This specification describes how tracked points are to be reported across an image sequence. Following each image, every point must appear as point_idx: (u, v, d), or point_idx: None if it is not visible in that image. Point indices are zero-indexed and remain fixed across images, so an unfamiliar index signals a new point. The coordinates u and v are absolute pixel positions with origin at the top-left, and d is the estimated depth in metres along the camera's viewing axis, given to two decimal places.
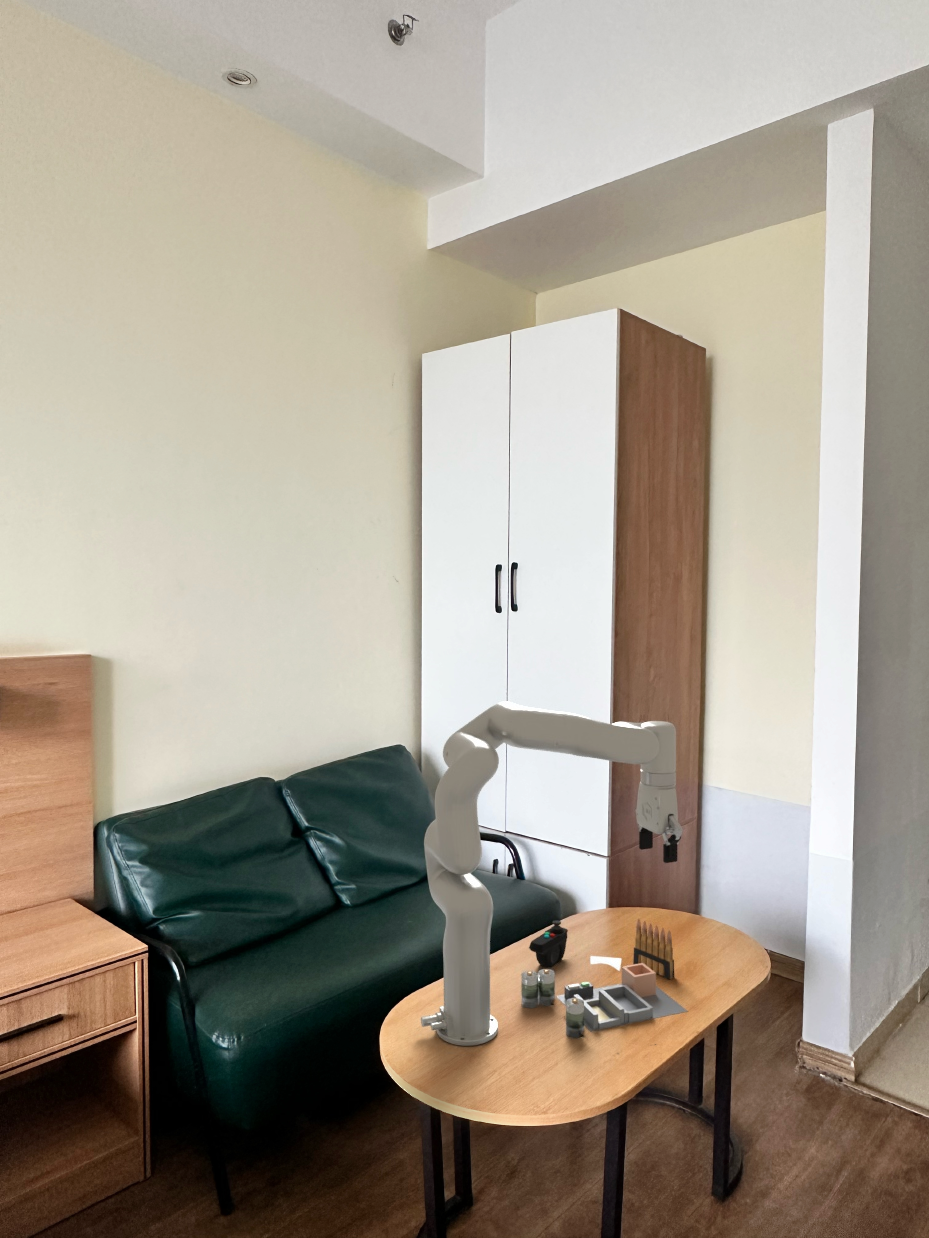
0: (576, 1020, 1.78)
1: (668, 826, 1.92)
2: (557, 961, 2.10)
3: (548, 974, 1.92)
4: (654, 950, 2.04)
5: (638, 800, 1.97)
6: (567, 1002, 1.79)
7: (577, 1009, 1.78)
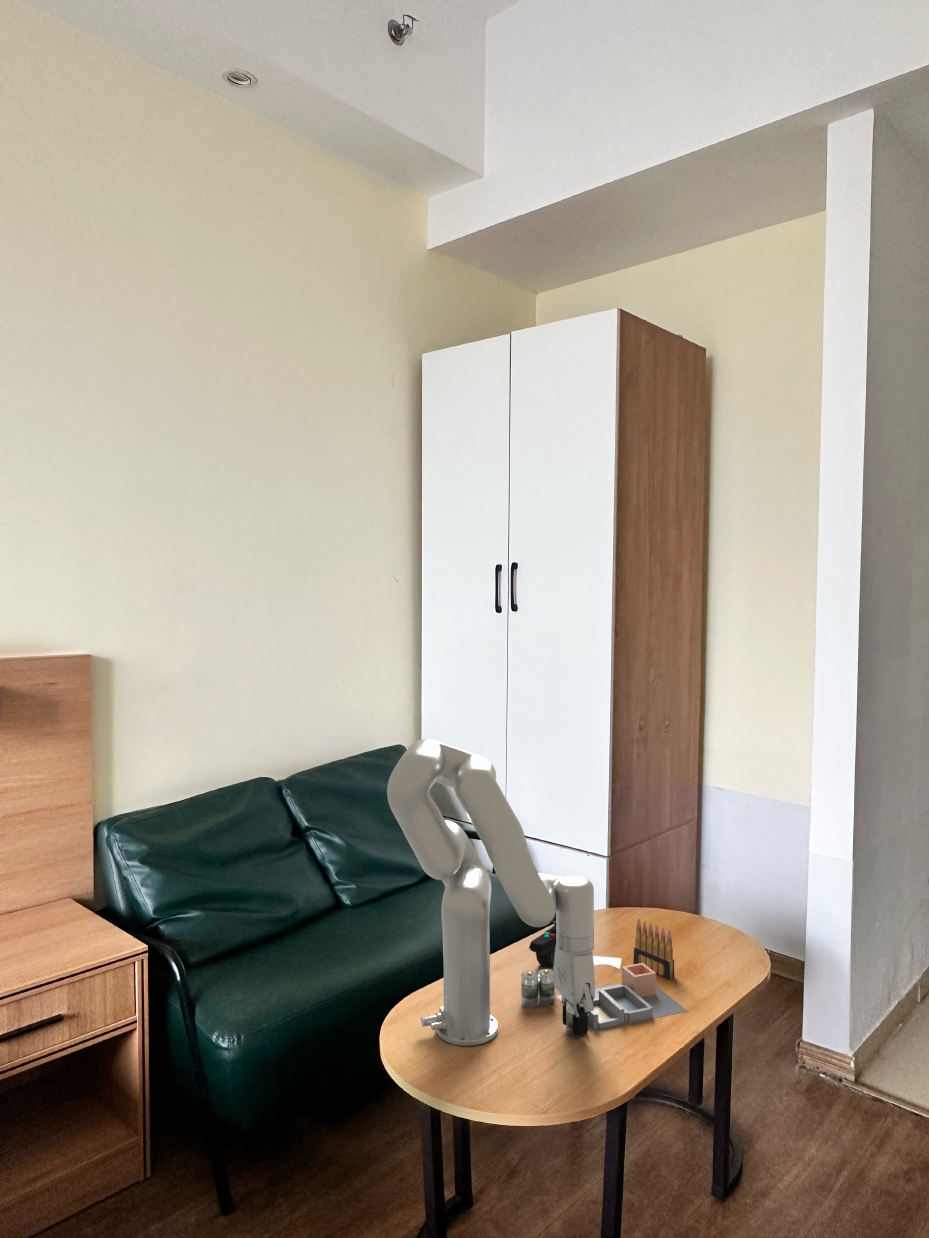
0: None
1: None
2: None
3: (548, 974, 1.92)
4: (654, 950, 2.04)
5: (555, 961, 1.82)
6: (567, 1002, 1.79)
7: None
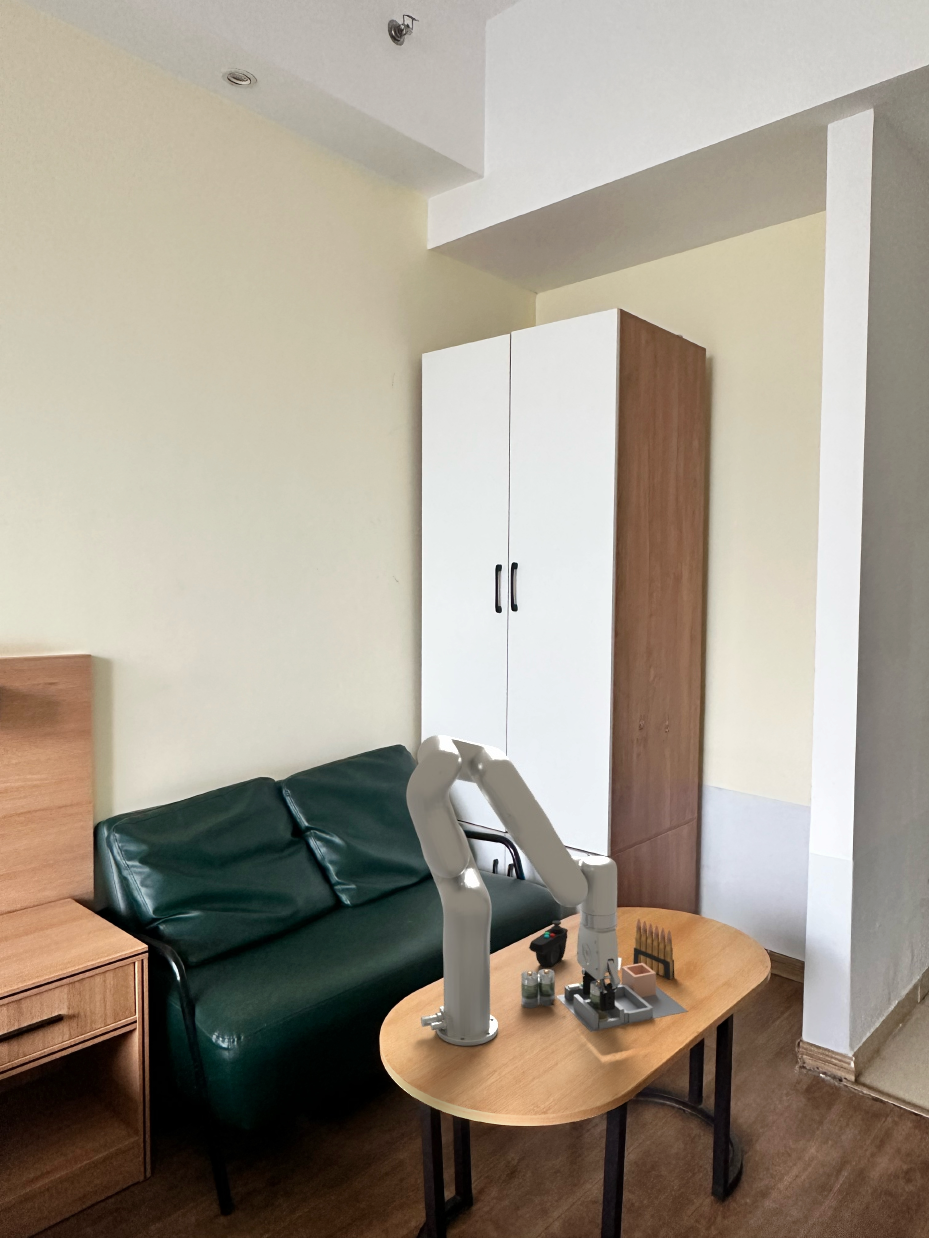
0: None
1: (607, 970, 1.82)
2: (557, 961, 2.10)
3: (548, 974, 1.92)
4: (654, 950, 2.04)
5: (578, 938, 1.87)
6: (591, 984, 1.84)
7: None
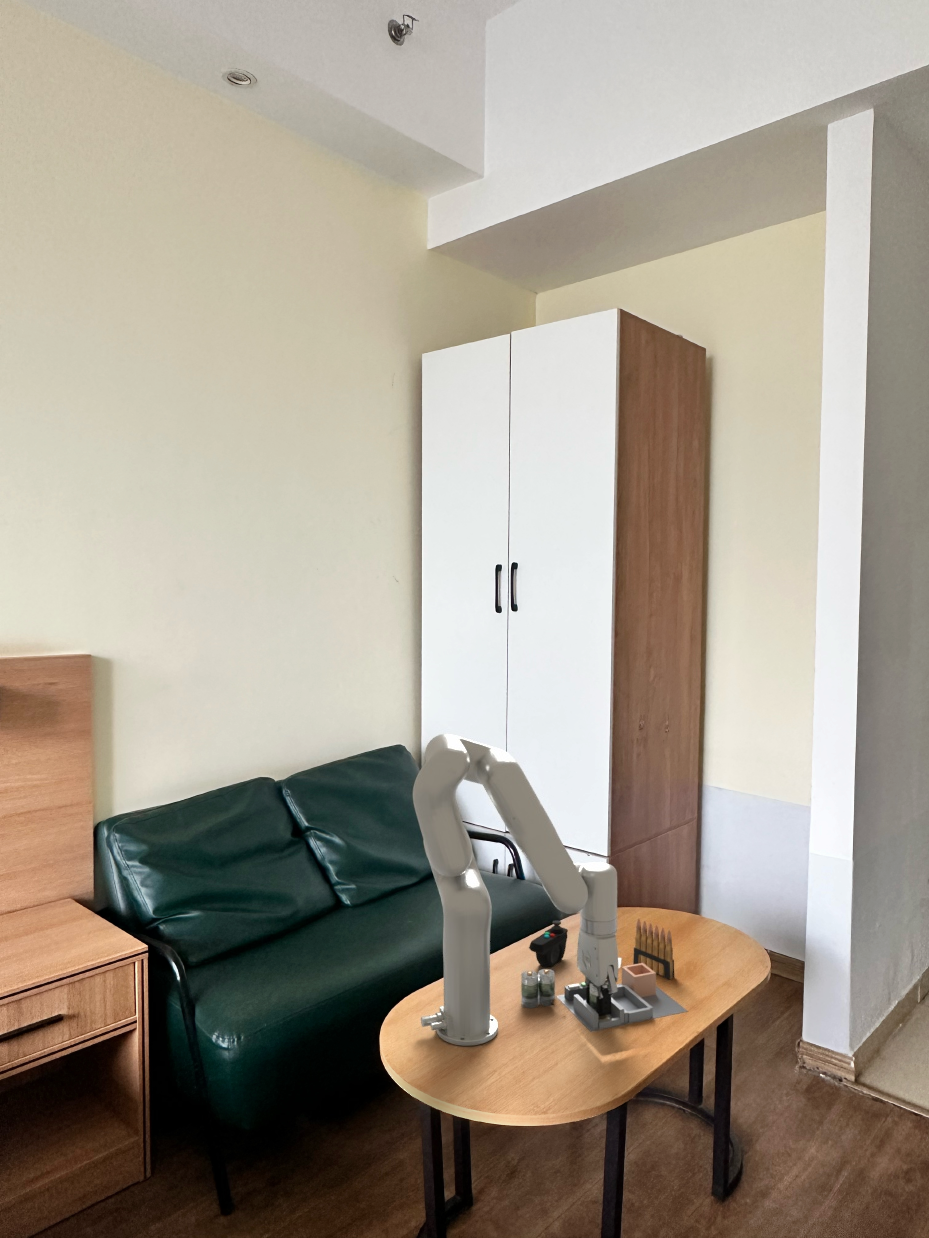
0: None
1: None
2: (557, 961, 2.10)
3: (548, 974, 1.92)
4: (654, 950, 2.04)
5: (578, 944, 1.87)
6: (591, 984, 1.85)
7: None
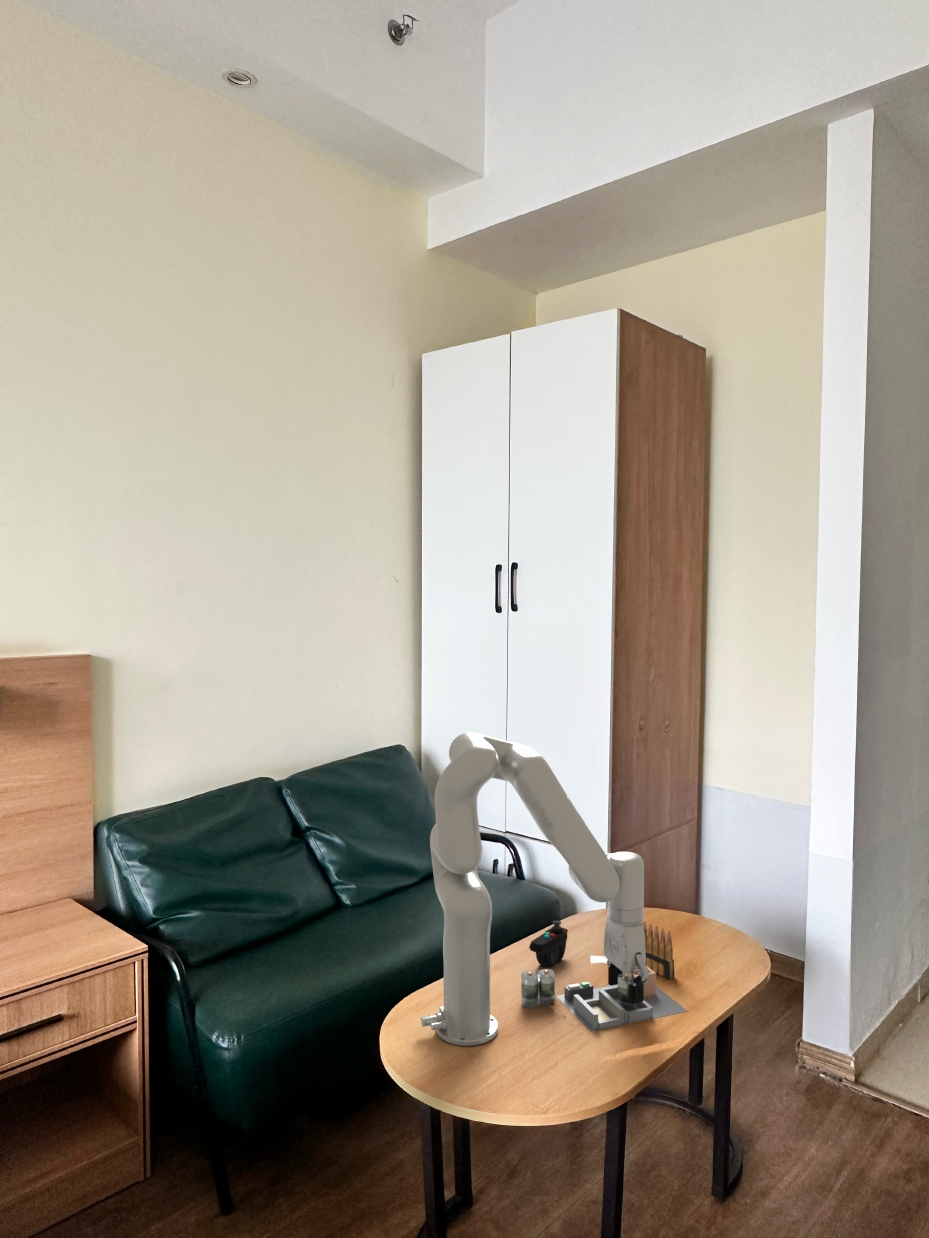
0: (628, 994, 1.86)
1: (635, 964, 1.85)
2: (557, 961, 2.10)
3: (548, 974, 1.92)
4: (654, 950, 2.04)
5: (605, 933, 1.90)
6: (619, 977, 1.88)
7: (629, 983, 1.86)
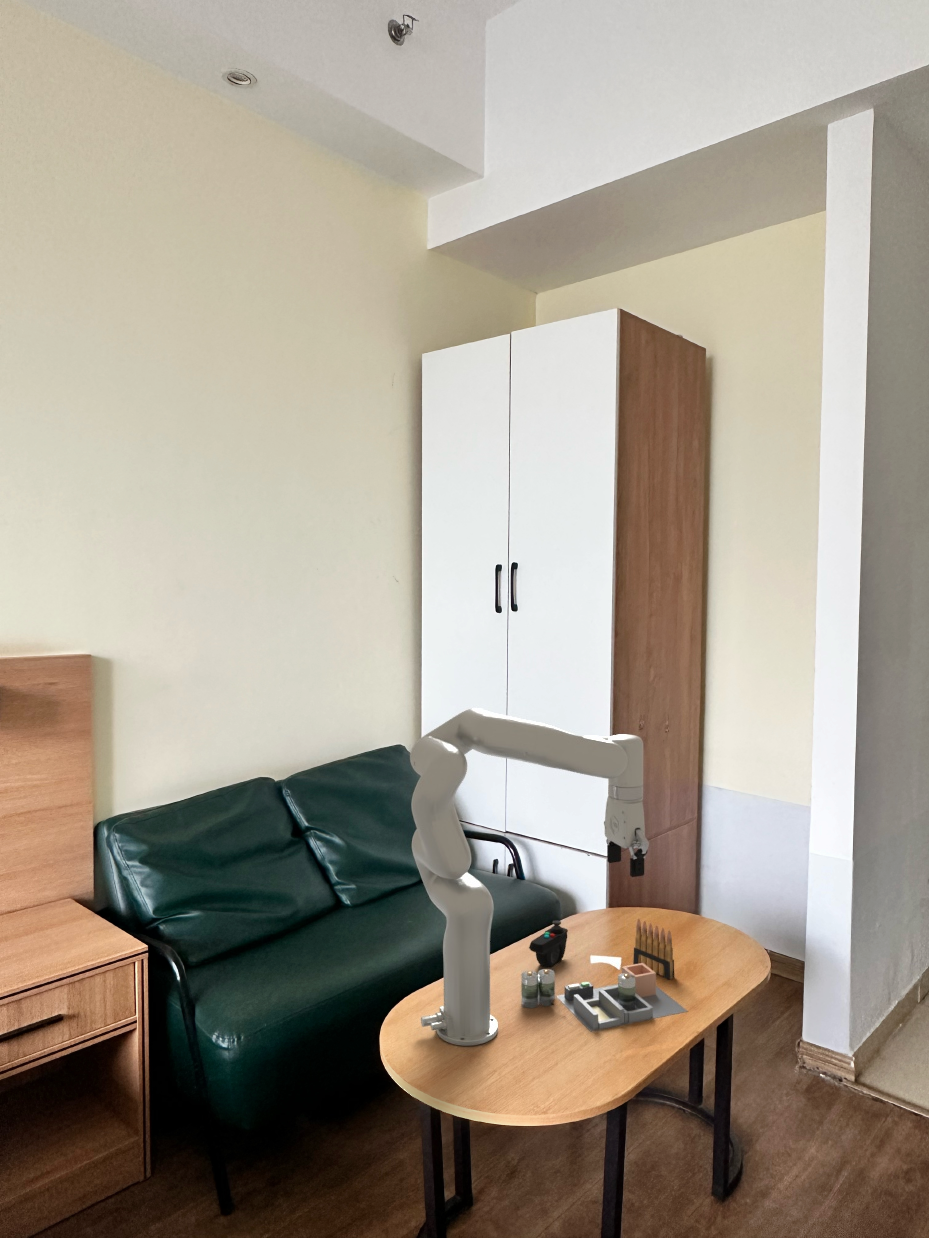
0: (629, 993, 1.87)
1: (635, 840, 1.91)
2: (557, 961, 2.10)
3: (548, 974, 1.92)
4: (654, 950, 2.04)
5: (606, 813, 1.97)
6: (619, 977, 1.88)
7: (629, 983, 1.86)
